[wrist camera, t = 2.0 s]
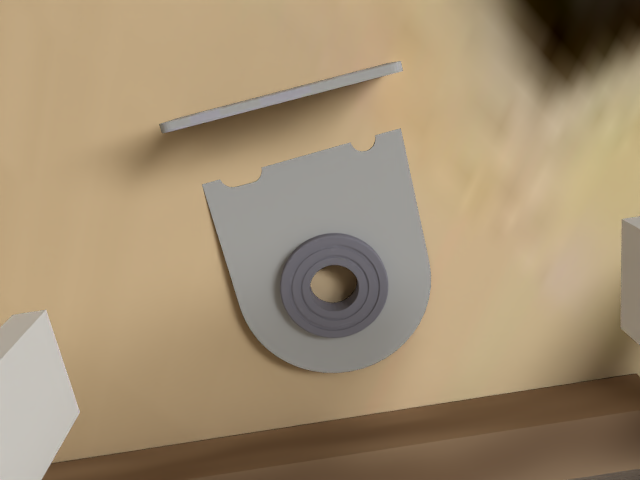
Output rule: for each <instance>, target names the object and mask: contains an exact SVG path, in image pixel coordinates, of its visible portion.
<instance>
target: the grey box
mask: <svg viewBox="0 0 640 480" xmlns="http://www.w3.org/2000/svg"><path fill="white" fill-rule="evenodd" d="M568 480H640V469H634V470H628V471H621V472H615V473H608V474H601V475H595V476H588V477H582V478H575V479H568Z"/></svg>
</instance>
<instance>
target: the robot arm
mask: <svg viewBox="0 0 640 480" xmlns="http://www.w3.org/2000/svg"><path fill="white" fill-rule="evenodd" d="M621 329H622V330H623V331H624V332H625V333H626V334H628V335H629V336H630V337H631V338H632V339H633V340H634V341H635V342H636V343H638V344H639V345H640V216H638V217H632V218H625V219H622V249H621ZM79 413H80V411H79V408H78V405H77V402H76V399H75V396H74V393H73V389H72V386H71V383H70V380H69V377H68V374H67V371H66V368H65V365H64V362H63V359H62V356H61V353H60V350H59V347H58V344H57V341H56V338H55V335H54V332H53V329H52V326H51V323H50V320H49V317H48V314H47V311H46V310H41V311H34V312H28V313H22V314H15V315H12V316H11V317H10V318H9V319H8V320H7V321H6V322H5V323H4V324H3V325H2V326H1V327H0V480H42V478H43V476H44V475H45V473H46V471H47V469H48V468H49V466H50V464H51V462H52V461H53V459H54V457H55V455H56V454H57V452H58V450H59V448H60V447H61V445H62V443H63V441H64V439H65V438H66V436H67V434H68V432H69V431H70V429H71V427H72V425H73V424H74V422H75V420H76V418H77V417H78V415H79Z"/></svg>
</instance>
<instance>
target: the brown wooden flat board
mask: <svg viewBox="0 0 640 480" xmlns="http://www.w3.org/2000/svg"><path fill="white" fill-rule="evenodd" d="M634 469H640V377H639V376H638V375H637V374H631V375H625V376H618V377H612V378H605V379H599V380H592V381H586V382H579V383H573V384H566V385H560V386H553V387H547V388H540V389H534V390H527V391H521V392H514V393H508V394H501V395H495V396H488V397H482V398H475V399H469V400H462V401H456V402H449V403H443V404H436V405H430V406H424V407H417V408H411V409H404V410H398V411H391V412H385V413H378V414H372V415H365V416H359V417H352V418H346V419H339V420H333V421H326V422H320V423H313V424H307V425H300V426H294V427H287V428H281V429H274V430H268V431H261V432H255V433H248V434H242V435H235V436H229V437H222V438H216V439H209V440H203V441H196V442H190V443H183V444H177V445H170V446H164V447H157V448H151V449H144V450H138V451H131V452H125V453H118V454H112V455H105V456H99V457H92V458H86V459H79V460H73V461H66V462H60V463H53V464H50V466H49V468H48V469H47V471H46V473H45V475H44V476H43V478H42V480H568V479H575V478H582V477H588V476H595V475H601V474H608V473H615V472H621V471H628V470H634Z"/></svg>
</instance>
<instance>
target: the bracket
mask: <svg viewBox="0 0 640 480" xmlns="http://www.w3.org/2000/svg"><path fill="white" fill-rule="evenodd" d="M401 71H403V69H402V65H401V61H398V62H392V63H386V64H383V65H379V66H375V67H371V68H367V69H363V70H360V71H356V72H352V73H348V74H344V75H340V76H337V77H333V78H329V79H325V80H321V81H317V82H314V83H310V84H306V85H302V86H298V87H295V88H291V89H287V90H283V91H279V92H275V93H272V94H268V95H264V96H260V97H256V98H252V99H249V100H245V101H241V102H237V103H233V104H229V105H226V106H222V107H218V108H214V109H210V110H207V111H203V112H199V113H195V114H191V115H187V116H184V117H180V118H177V119H174V120H171V121H168V122H165V123H161V124H159V125H160V128H161V132H162V133H167V132H171V131H174V130H178V129H182V128H186V127H190V126H194V125H197V124H201V123H205V122H209V121H213V120H217V119H221V118H224V117H228V116H232V115H236V114H240V113H244V112H247V111H251V110H255V109H259V108H263V107H267V106H270V105H274V104H278V103H282V102H286V101H290V100H293V99H297V98H301V97H305V96H309V95H313V94H317V93H320V92H324V91H328V90H332V89H336V88H340V87H343V86H347V85H351V84H355V83H359V82H363V81H366V80H370V79H374V78H378V77H382V76H386V75H389V74H393V73H397V72H401ZM375 136H376V140H375V144H374V146H373V147H372V148H371V149H369V150H367V151H363V152H361V151H357V150H356V149H354V148H353V147H352V145H351V143H347V144H343V145H340V146H336V147H333V148H329V149H326V150H322V151H319V152H315V153H312V154H308V155H305V156H301V157H298V158H294V159H290V160H287V161H283V162H280V163H276V164H273V165H269V166H266V167H262V174H261V177H260V178H259V179H258V180H257V181H256V182H253V183H249V184H245V185H242V186H238V187H228V186H226V185H224V184H223V183H222V182H221V180H216V181H213V182H209V183H206V184H202V186H203V189H204V192H205V195H206V199H207V202H208V205H209V208H210V212H211V215H212V218H213V221H214V225H215V228H216V231H217V234H218V237H219V241H220V244H221V247H222V250H223V254H224V257H225V260H226V263H227V267H228V270H229V273H230V276H231V280H232V283H233V286H234V289H235V293H236V296H237V299H238V302H239V306H240V309H241V311H242V314H243V316H244V319H245V321H246V323H247V324H248V326H249V328H250V330H251V331H252V332H253V334H254V335H255V336H256V338H257V339H258V340H259V341H260V342H261V343H262V344H263V345H264V346H265V347H266V348H267V349H268V350H269V351H270V352H272V353H273V354H274V355H276V356H277V357H279V358H280V359H282V360H284V361H286V362H287V363H290V364H292V365H295V366H297V367H299V368H303V369H307V370H310V371H316V372H323V373H341V372H350V371H354V370H358V369H363V368H365V367H368V366H371V365H373V364H375V363H377V362H379V361H381V360H383V359H385V358H387V357H388V356H389V355H391V354H392V353H394V352H395V351H396V350H397V349H399V348H400V347H401V346H402V345H403V344H404V343H405V342H406V341H407V340H408V339H409V337H410V336H411V335H412V334H413V333H414V331H415V329H416V328H417V326H418V325H419V323H420V321H421V319H422V317H423V315H424V313H425V310H426V307H427V303H428V300H429V295H430V288H431V271H430V264H429V259H428V254H427V249H426V245H425V240H424V235H423V231H422V226H421V221H420V217H419V212H418V207H417V202H416V198H415V193H414V188H413V184H412V179H411V174H410V170H409V165H408V160H407V156H406V151H405V146H404V142H403V137H402V132H401V128H400V129H397V130H393V131H389V132H386V133H382V134H379V135H375ZM329 265H340V266H343V267H346V268H348V269H349V270H351V271H352V272H353V273H354V275H355V276H356V278H357V286H356V288H355V291H354V292H353V294H352V295H351V296H350V297H348V298H347V299H345V300H344V301H341V302H337V303H329V302H325V301H322V300H320V299H319V298H318V297H316V296H315V295H314V293H313V292H312V290H311V287H310V283H311V280H312V278H313V276H314V275H315V274H316V272H317V271H319V270H320V269H322V268H323V267H326V266H329Z"/></svg>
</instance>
